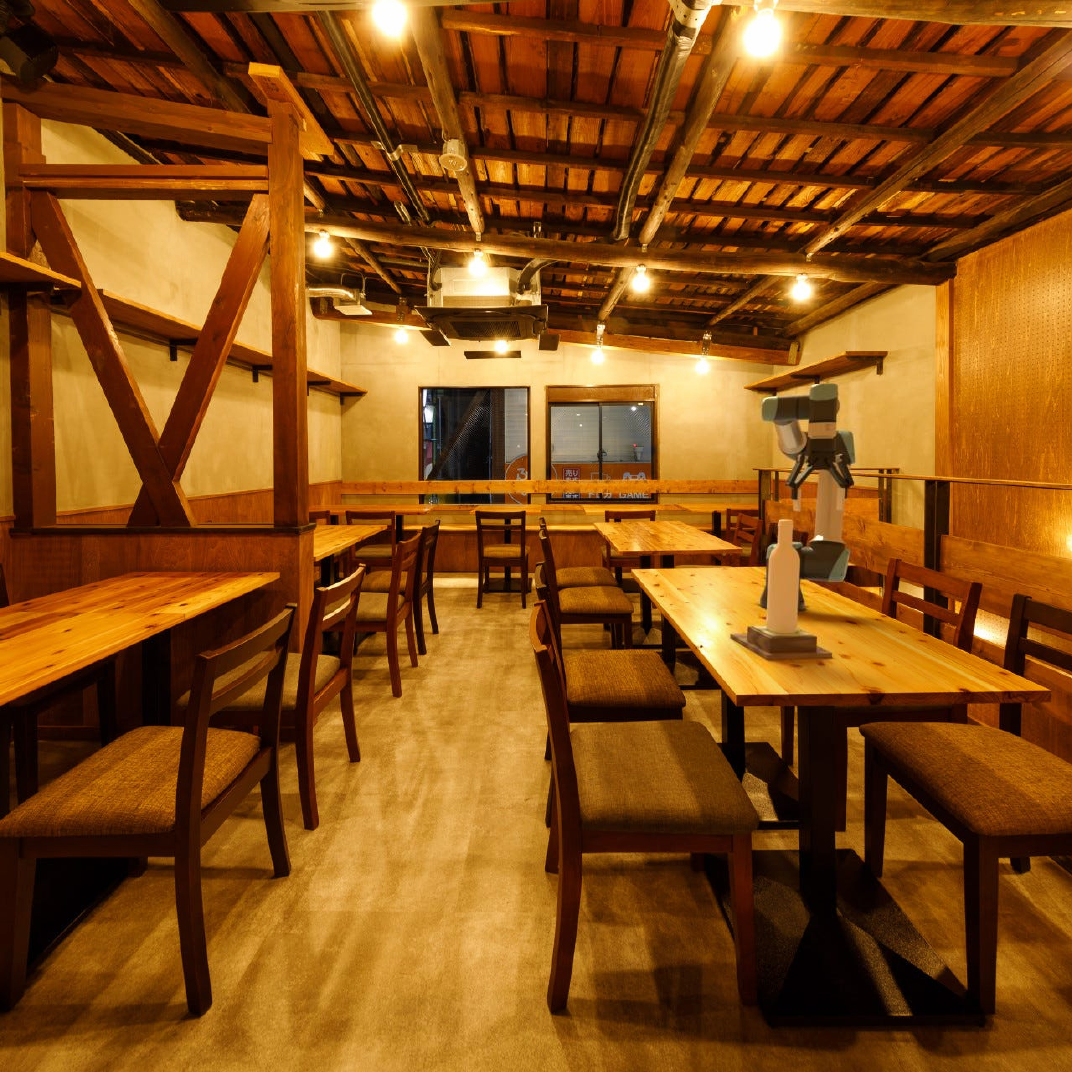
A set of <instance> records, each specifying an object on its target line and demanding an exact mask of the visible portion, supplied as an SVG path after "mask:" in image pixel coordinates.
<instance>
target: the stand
mask: <svg viewBox="0 0 1072 1072" xmlns="http://www.w3.org/2000/svg"><path fill="white" fill-rule="evenodd" d="M746 631H747V632H746V633H744V632H743V633H730V637H729V638H730V639H731V640H733V641H734V642H736V643H738V644H740V645H741V646H742V647H744V648H746V649H748V650H750V651H751V652H753V653H755V654H756V655H758V656H760V657H761V658H763V659H765V660H767V661H768V660H769V661H771V660H772V661H773V660H797V659H799V660H800V659H801V660H803V659H826V658H833V652H831V651H829V650H827V649H825V648H823V647H821V646H819V645H818V636H816V635H814V634H812V633H810V632H808V631H805V630H803V629H800V628H799V627H797V632H795V633H792V634H781V633H774V632H771V631H768V630H767V629H766V625H752V626H750V625H748V626H747V630H746Z"/></svg>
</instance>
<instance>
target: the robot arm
mask: <svg viewBox="0 0 1072 1072" xmlns="http://www.w3.org/2000/svg"><path fill="white" fill-rule="evenodd" d="M840 408H841V402H840V400H839V385H838V384H836V383H833V382H832V383H817V384H812V385H811V386H810V388H809V394H803V395H783V396H781V395H780V396H779V395H778V396H777V395H776V396H770V397H765V398H763V400H762V402H761V418H762V421H763V422H771V423H773V426H774V429H775V431H776V434H777V437H778V439H777V445H778V448H779V450H780V451H781V453H782V454H783V455H784V456H786V457H787V458H788V459H790V460H792V461H794V462H795V464H794V466H793V467H792V469H791V472H790V473H789V475H788V477H787V479H786V482H785V483H784V485H785V487H788V488H789V489H791V490H790V491H791V494H790V495H791V496H790V498H791V500H793V504H792V505H793V507H792V508H793V509H792V510H793V511H794V512H801V508H802V507H801V506H802V488H800V487H801V486H802V484H803V483H804V482H805V481H806V479H807V478H808V477H809V476H810V475H811V474H812V473H813V472H814V471H817V472H818V480H817V492H816V493H817V494H816V508H815V524H814V525H815V526H814V535H813V538H812V539H811V540H809V542H808V546H804V545H803V543H802V542H801V541H799V542H798V541H792V547H793V548H794V549H795V550H796V551H797V552H798V555H799V559H800V566H799V590H798V612H799V611H803V610H805V609H806V608H805V607H806V601H805V598H804V595H803V592H802V588H801V580H806V581H816V582H817V581H819V582H828V583H830V582H831V583H832V582H833V583H834V582H835V583H837V582H838V583H840V582H843V581H844V580H845V577H846V574H847V570H848V566H849V563H850V562H849V560H850V555H851V549H849V548H847V546H846V545H847V543H846V542H845V541H844V540H843V539H842V536H843V535H842V533H843V532H842V531H843V520H844V519H843V514H844V511H845V500H847V498H848V489H850V488H851V487H852V486H854V485H855V481H854V479H853V477H852V474H851V472H850V470H851V466H852V465H853V464H855V463H856V454H855V439H854V434H853V432H852V431H850V430H839V429H838V430H837V419H838V418H837V417H838V416H837V415H838V414H839V411H840V410H841V409H840ZM807 420H808V423H807V424H808V429H807V431H804V430H802V428H801V425H800V424H801V423H800V422H799V421H807ZM804 464H806V466H805V467H804ZM803 467H804V469H803ZM802 469H803V471H802ZM801 471H802V472H801ZM777 546H778V543H773V544H770V545H769V546H768V547H767V549H766V551H767V552H766V557H765V559H766V563H765V564H766V567H765V570H766V571H765V585H764V587H763V591H762V593H761V596H760V598H759V606H760V607H761V608H764V609H767V597H768V571H769V557H770V554H771V552H772V550H773V549H774V548H776V547H777Z"/></svg>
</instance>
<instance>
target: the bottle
mask: <svg viewBox="0 0 1072 1072" xmlns="http://www.w3.org/2000/svg"><path fill="white" fill-rule="evenodd" d="M777 529H778V531H777V544H778V546H777V547H776V548H774V549H773V550H772V552H771V554H770V557H769V571H768V597H767V608H766V620H765V624H766V625H765V626H766V629H767V630H768V631H771V632H774V633H781V634H792V633H795V632H797V628H798V622H799V621H798V612H799V611H798V590H799V566H800V559H799V555H798V552H797V551H796V550H795V549H794V548H793V547H792V542H793V534H794V531H793V530H794V520H792V519H779V520H778V524H777Z"/></svg>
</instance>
